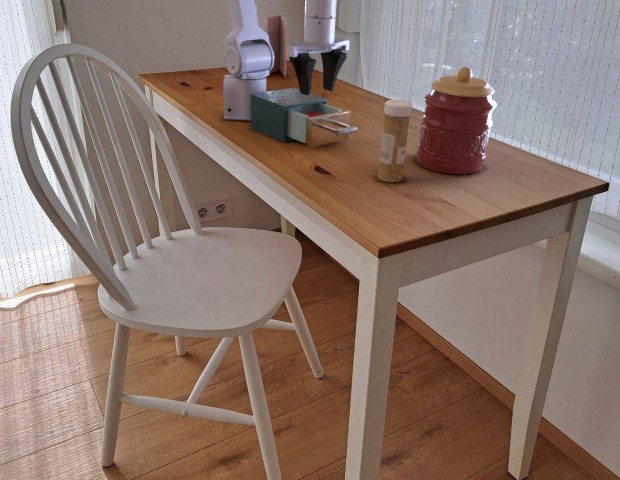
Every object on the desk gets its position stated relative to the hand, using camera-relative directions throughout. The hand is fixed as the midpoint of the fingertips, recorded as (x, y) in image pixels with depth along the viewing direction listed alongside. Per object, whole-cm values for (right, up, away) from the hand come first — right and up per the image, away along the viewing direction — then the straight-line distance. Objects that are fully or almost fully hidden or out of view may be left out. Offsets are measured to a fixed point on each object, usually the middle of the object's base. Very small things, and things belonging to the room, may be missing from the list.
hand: (316, 92), depth 117 cm
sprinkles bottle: (+13, -20, -11) cm, 26 cm away
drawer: (+1, -8, +4) cm, 9 cm away
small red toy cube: (0, -7, +4) cm, 8 cm away
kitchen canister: (+25, -15, -3) cm, 30 cm away
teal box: (-6, -5, +11) cm, 13 cm away
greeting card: (-10, +25, +57) cm, 63 cm away
